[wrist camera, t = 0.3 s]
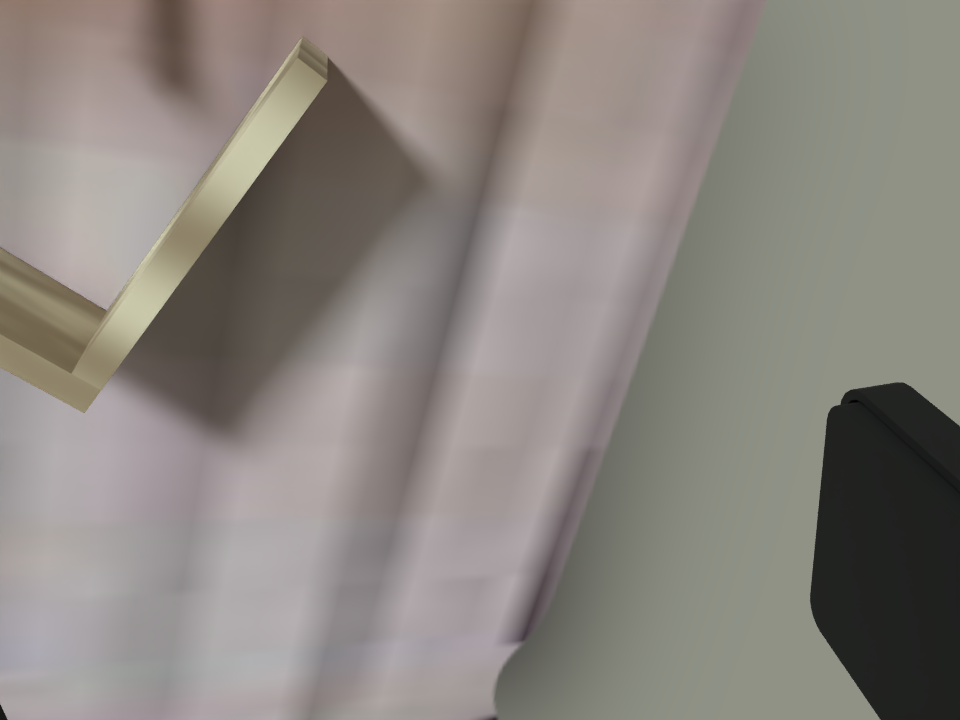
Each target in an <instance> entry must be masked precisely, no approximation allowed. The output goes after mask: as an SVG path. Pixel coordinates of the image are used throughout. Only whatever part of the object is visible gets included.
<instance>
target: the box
mask: <svg viewBox="0 0 960 720" xmlns="http://www.w3.org/2000/svg"><path fill="white" fill-rule="evenodd" d="M327 71H328V57H327V56H326V55H325V54H324V53H322V52H321V51H320V50H319V49H317V48H316V47H315V46H314V45H312V44H311V43H310V42H309V41H307V40H306V39H305V38H304V37H302V38H301V39H300V41H299V42H298V44H297V45H296V46H295V48H294V49H293V51H292V52H291V53H290V55H289V56H288V58H287V59H286V60H285V62H284V63H283V65H282V66H281V67H280V69H279V70H278V72H277V73H276V74H275V76H274V77H273V79H272V80H271V81H270V83H269V84H268V86H267V87H266V89H265V90H264V91H263V93H262V94H261V96H260V97H259V98H258V100H257V101H256V103H255V104H254V105H253V107H252V108H251V110H250V111H249V112H248V114H247V115H246V117H245V118H244V119H243V121H242V122H241V124H240V125H239V126H238V128H237V129H236V131H235V132H234V133H233V135H232V136H231V138H230V139H229V141H228V142H227V143H226V145H225V146H224V148H223V149H222V150H221V152H220V153H219V155H218V156H217V157H216V159H215V160H214V162H213V163H212V164H211V166H210V167H209V169H208V170H207V171H206V173H205V174H204V176H203V177H202V178H201V180H200V181H199V183H198V184H197V185H196V187H195V188H194V190H193V191H192V193H191V194H190V195H189V197H188V198H187V200H186V201H185V202H184V204H183V205H182V207H181V208H180V209H179V211H178V212H177V214H176V215H175V216H174V218H173V219H172V221H171V222H170V223H169V225H168V226H167V228H166V229H165V230H164V232H163V233H162V235H161V236H160V237H159V239H158V240H157V242H156V243H155V244H154V246H153V247H152V249H151V250H150V252H149V253H148V254H147V256H146V257H145V259H144V260H143V261H142V263H141V264H140V266H139V267H138V268H137V270H136V271H135V273H134V274H133V275H132V277H131V278H130V280H129V281H128V282H127V284H126V285H125V287H124V288H123V289H122V291H121V292H120V294H119V295H118V296H117V298H116V299H115V301H114V302H113V304H112V305H111V306H110V308H109V309H108V311H106V310H104V309H102V308H101V307H99V306H97V305H96V304H94V303H92V302H90V301H89V300H87V299H85V298H84V297H82V296H80V295H79V294H77V293H75V292H74V291H72V290H70V289H69V288H67V287H65V286H64V285H62V284H60V283H59V282H57V281H55V280H54V279H52V278H50V277H49V276H47V275H45V274H43V273H42V272H40V271H38V270H37V269H35V268H33V267H32V266H30V265H28V264H27V263H25V262H23V261H22V260H20V259H18V258H17V257H15V256H13V255H12V254H10V253H8V252H7V251H5V250H3V249H2V248H0V368H2V369H4V370H6V371H8V372H10V373H11V374H13V375H15V376H17V377H19V378H21V379H22V380H24V381H26V382H28V383H30V384H32V385H33V386H35V387H37V388H39V389H41V390H43V391H45V392H46V393H48V394H50V395H52V396H54V397H56V398H57V399H59V400H61V401H63V402H65V403H67V404H68V405H70V406H72V407H74V408H76V409H78V410H80V411H81V412H83V413H85V412H86V410H87V409H88V408H89V406H90V405H91V404H92V402H93V401H94V399H95V398H96V397H97V395H98V394H99V393H100V391H101V390H102V388H103V387H104V386H105V384H106V383H107V382H108V380H109V379H110V378H111V376H112V375H113V373H114V372H115V371H116V369H117V368H118V367H119V365H120V364H121V362H122V361H123V360H124V358H125V357H126V356H127V354H128V353H129V352H130V350H131V349H132V347H133V346H134V345H135V343H136V342H137V341H138V339H139V338H140V336H141V335H142V334H143V332H144V331H145V330H146V328H147V327H148V326H149V324H150V323H151V321H152V320H153V319H154V317H155V316H156V315H157V313H158V312H159V311H160V309H161V308H162V306H163V305H164V304H165V302H166V301H167V300H168V298H169V297H170V295H171V294H172V293H173V291H174V290H175V289H176V287H177V286H178V285H179V283H180V282H181V280H182V279H183V278H184V276H185V275H186V274H187V272H188V271H189V269H190V268H191V267H192V265H193V264H194V263H195V261H196V260H197V259H198V257H199V256H200V254H201V253H202V252H203V250H204V249H205V248H206V246H207V245H208V243H209V242H210V241H211V239H212V238H213V237H214V235H215V234H216V233H217V231H218V230H219V228H220V227H221V226H222V224H223V223H224V222H225V220H226V219H227V218H228V216H229V215H230V213H231V212H232V211H233V209H234V208H235V207H236V205H237V204H238V202H239V201H240V200H241V198H242V197H243V196H244V194H245V193H246V192H247V190H248V189H249V187H250V186H251V185H252V183H253V182H254V181H255V179H256V178H257V176H258V175H259V174H260V172H261V171H262V170H263V168H264V167H265V166H266V164H267V163H268V161H269V160H270V159H271V157H272V156H273V155H274V153H275V152H276V151H277V149H278V148H279V146H280V145H281V144H282V142H283V141H284V140H285V138H286V137H287V135H288V134H289V133H290V131H291V130H292V129H293V127H294V126H295V125H296V123H297V122H298V120H299V119H300V118H301V116H302V115H303V114H304V112H305V111H306V109H307V108H308V107H309V105H310V104H311V103H312V101H313V100H314V99H315V97H316V96H317V94H318V93H319V92H320V90H321V89H322V88H323V86H324V85H325V83H326V82H327Z"/></svg>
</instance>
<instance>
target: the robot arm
mask: <svg viewBox="0 0 960 720" xmlns="http://www.w3.org/2000/svg"><path fill="white" fill-rule="evenodd" d="M810 602H811V609H812V613H813V617H814V619H815V622H816V624H817V627H818V628H819V630H820V632H821V633H822V635H823V636H824V638H825V639H826V640H827V642H828V644H829V645H830V646H831V648H832V649H833V651H834V652H835V654H836V655H837V657H838V658H839V660H840V661H841V663H842V664H843V665H844V667H845V668H846V670H847V671H848V673H849V674H850V676H851V677H852V679H853V680H854V682H855V683H856V684H857V686H858V687H859V689H860V690H861V692H862V693H863V695H864V696H865V698H866V699H867V701H868V702H869V703H870V705H871V706H872V708H873V709H874V711H875V712H876V714H877V715H878V717H879V718H880V719H881V720H960V426H959V425H957V424H956V423H955V422H954V421H953V420H951V419H950V418H949V417H948V416H946V415H945V414H944V413H943V412H941V411H940V410H939V409H938V408H937V407H935V406H934V405H933V404H932V403H930V402H929V401H928V400H927V399H925V398H924V397H923V396H922V395H920V394H919V393H918V392H917V391H916V390H914V389H913V388H912V387H911V386H909V385H907V384H905V383H891V384H884V385H879V386H872V387H866V388H859V389H853V390H850V391H848V392H847V393H845V395H844V396H843V398H842V400H841V405H838V406H834V407H833V408H831V410H830V412H829V413H828V418H827V426H826V437H825V447H824V458H823V468H822V478H821V490H820V500H819V510H818V520H817V530H816V541H815V551H814V562H813V573H812V583H811V593H810ZM0 720H7V718H6V716H5V713H4V711H3V709H2V707H1V705H0Z"/></svg>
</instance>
